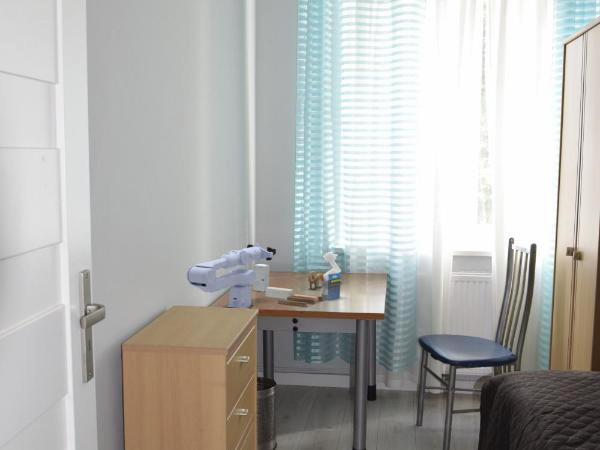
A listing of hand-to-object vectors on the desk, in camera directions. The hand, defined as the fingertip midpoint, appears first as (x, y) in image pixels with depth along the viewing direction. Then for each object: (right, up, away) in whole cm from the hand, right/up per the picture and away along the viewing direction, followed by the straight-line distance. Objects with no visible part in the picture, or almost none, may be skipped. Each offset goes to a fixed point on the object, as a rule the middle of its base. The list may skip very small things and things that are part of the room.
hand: (267, 250), depth 315 cm
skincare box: (-4, -20, +21) cm, 29 cm away
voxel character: (+30, -18, +42) cm, 55 cm away
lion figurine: (+22, -19, +28) cm, 41 cm away
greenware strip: (+5, -22, 0) cm, 22 cm away
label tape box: (+27, -22, -1) cm, 35 cm away
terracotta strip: (+16, -21, -7) cm, 28 cm away
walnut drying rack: (+15, -23, -10) cm, 29 cm away
